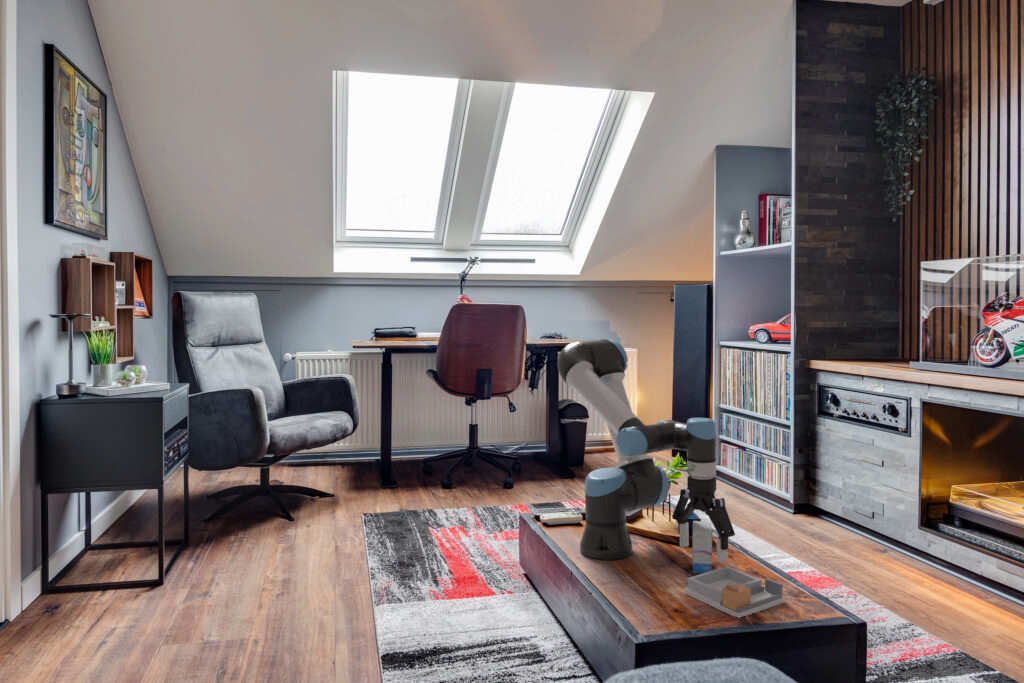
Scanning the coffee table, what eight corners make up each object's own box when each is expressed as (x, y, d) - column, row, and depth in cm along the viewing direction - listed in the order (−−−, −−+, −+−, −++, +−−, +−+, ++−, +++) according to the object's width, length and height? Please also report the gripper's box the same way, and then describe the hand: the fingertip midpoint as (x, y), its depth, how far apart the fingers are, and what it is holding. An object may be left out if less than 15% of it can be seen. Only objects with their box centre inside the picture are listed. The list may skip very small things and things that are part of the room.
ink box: (712, 574, 190) (712, 530, 190) (693, 573, 191) (693, 529, 191) (710, 562, 199) (710, 520, 198) (692, 561, 200) (691, 519, 199)
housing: (684, 593, 178) (684, 577, 178) (729, 579, 187) (729, 563, 187) (739, 618, 164) (739, 600, 164) (784, 602, 172) (784, 584, 172)
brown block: (722, 604, 168) (722, 584, 168) (737, 599, 171) (737, 580, 170) (735, 611, 165) (735, 590, 164) (750, 605, 167) (750, 585, 167)
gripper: (658, 469, 202) (660, 543, 203) (728, 487, 181) (728, 570, 182) (678, 465, 206) (679, 538, 207) (748, 483, 185) (748, 564, 186)
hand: (702, 553), depth 195 cm, fingers open, 13 cm apart
